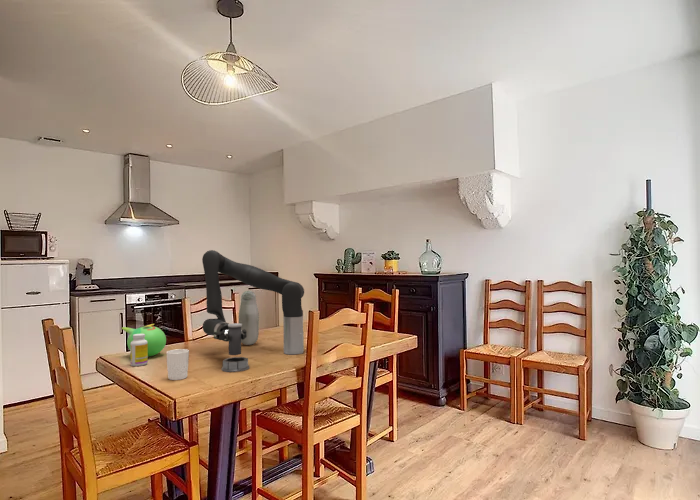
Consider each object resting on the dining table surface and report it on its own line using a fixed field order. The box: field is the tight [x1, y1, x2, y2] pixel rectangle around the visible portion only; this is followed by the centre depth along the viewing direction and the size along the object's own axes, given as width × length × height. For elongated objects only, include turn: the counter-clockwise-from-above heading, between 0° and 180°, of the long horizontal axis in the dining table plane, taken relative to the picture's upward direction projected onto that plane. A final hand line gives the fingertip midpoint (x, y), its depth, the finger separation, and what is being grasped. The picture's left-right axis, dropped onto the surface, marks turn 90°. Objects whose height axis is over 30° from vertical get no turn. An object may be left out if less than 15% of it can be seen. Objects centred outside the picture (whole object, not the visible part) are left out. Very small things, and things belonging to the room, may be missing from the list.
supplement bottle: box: [129, 334, 149, 367], centre depth 185 cm, size 7×7×13 cm
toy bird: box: [121, 323, 167, 357], centre depth 201 cm, size 18×17×15 cm
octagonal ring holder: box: [221, 356, 250, 373], centre depth 177 cm, size 11×11×4 cm
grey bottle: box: [238, 290, 260, 346], centre depth 226 cm, size 10×10×28 cm
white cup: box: [166, 348, 190, 381], centre depth 164 cm, size 8×8×10 cm
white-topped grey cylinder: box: [228, 322, 242, 356], centre depth 177 cm, size 6×6×12 cm
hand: (237, 337), depth 175 cm, fingers closed on white-topped grey cylinder, 5 cm apart
